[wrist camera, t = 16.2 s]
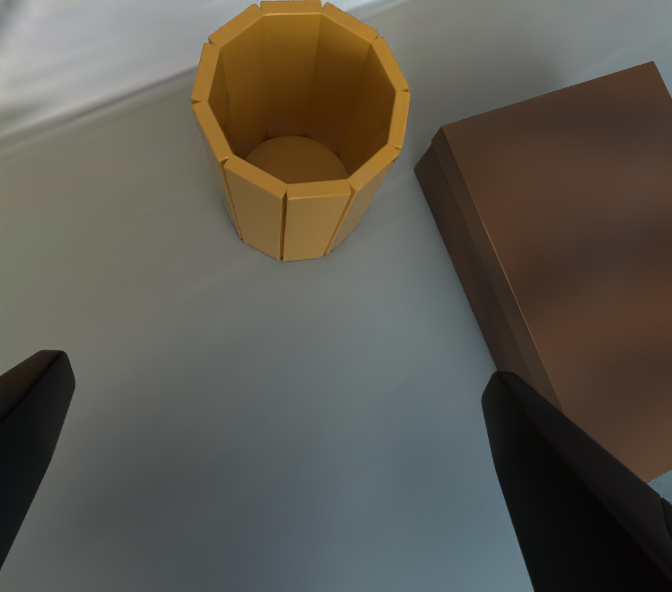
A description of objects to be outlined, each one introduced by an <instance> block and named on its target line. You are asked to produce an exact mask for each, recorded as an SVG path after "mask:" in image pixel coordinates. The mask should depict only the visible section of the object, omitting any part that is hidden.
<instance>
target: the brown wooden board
mask: <svg viewBox="0 0 672 592" xmlns="http://www.w3.org/2000/svg"><path fill="white" fill-rule="evenodd" d="M414 171H415V173H416V176H417V178H418V180H419V183H420V185H421V188H422V190H423V192H424V195H425V197H426V200H427V202H428V204H429V207H430V209H431V212H432V214H433V216H434V219H435V221H436V224H437V226H438V228H439V231H440V233H441V235H442V238H443V240H444V243H445V245H446V247H447V250H448V252H449V255H450V257H451V259H452V262H453V264H454V267H455V269H456V271H457V274H458V276H459V279H460V281H461V283H462V286H463V288H464V291H465V293H466V295H467V298H468V300H469V302H470V305H471V307H472V310H473V312H474V314H475V317H476V319H477V322H478V324H479V326H480V329H481V331H482V334H483V336H484V338H485V341H486V343H487V346H488V348H489V350H490V353H491V355H492V358H493V360H494V362H495V365H496V367H497V369H498V371H511V372H514V373H516V374H517V375H518V376H519V377H521V378H522V379H523V380H524V381H525V382H526V383H528V384H529V385H530V386H531V387H532V388H534V389H535V390H536V391H537V392H538V393H539V394H541V395H542V396H543V397H544V398H545V399H547V400H548V401H549V402H550V403H551V404H553V405H554V406H555V407H556V408H557V409H558V410H560V411H561V412H562V413H563V414H564V415H566V416H567V417H568V418H569V419H570V420H572V421H573V422H574V423H575V424H576V425H577V426H579V427H580V428H581V429H582V430H583V431H585V432H586V433H587V434H588V435H589V436H591V437H592V438H593V439H594V440H595V441H596V442H598V443H599V444H600V445H601V446H602V447H604V448H605V449H606V450H607V451H608V452H609V453H611V454H612V455H613V456H614V457H615V458H617V459H618V460H619V461H620V462H621V463H623V464H624V465H625V466H626V467H627V468H628V469H630V470H631V471H632V472H633V473H634V474H636V475H637V476H638V477H639V478H640V479H642V480H643V481H644V482H645V483H647V482H649V481H651V480H653V479H655V478H657V477H658V476H660V475H662V474H664V473H666V472H668V471H670V470H672V98H671V96H670V94H669V92H668V90H667V88H666V86H665V84H664V82H663V80H662V78H661V75H660V73H659V71H658V69H657V67H656V65H655V63H654V61H651V62H648V63H645V64H641V65H638V66H635V67H632V68H628V69H625V70H622V71H619V72H615V73H612V74H609V75H606V76H603V77H599V78H596V79H593V80H590V81H586V82H583V83H580V84H577V85H573V86H570V87H567V88H564V89H561V90H557V91H554V92H551V93H548V94H544V95H541V96H538V97H535V98H531V99H528V100H525V101H522V102H519V103H515V104H512V105H509V106H506V107H502V108H499V109H496V110H493V111H489V112H486V113H483V114H480V115H477V116H473V117H470V118H467V119H464V120H460V121H457V122H454V123H451V124H447V125H444V126H441V127H440V129H439V130H438V132H437V133H436V135H435V136H434V137H433V139H432V144H431V146H430V147H429V149H428V150H427V151H426V153H425V154H424V155H423V157H422V158H421V160H420V161H419V162H418V164H417V165H416V167H415V168H414Z"/></svg>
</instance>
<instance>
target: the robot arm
mask: <svg viewBox="0 0 672 592" xmlns="http://www.w3.org/2000/svg"><path fill="white" fill-rule="evenodd" d="M74 390H75V377H74V374H73V371H72V368H71V364H70V361H69V358H68V356H67V354H66V353H65V352H64V351H61V350H41V351H39V352H37V353H35V354H34V355H32V356H31V357H29V358H28V359H26V360H24V361H23V362H21V363H20V364H18V365H17V366H15V367H14V368H12V369H10V370H9V371H7V372H6V373H4V374H3V375H1V376H0V570H1V568H2V565H3V563H4V561H5V559H6V557H7V555H8V553H9V550H10V548H11V546H12V544H13V542H14V540H15V537H16V535H17V533H18V531H19V529H20V527H21V525H22V522H23V520H24V518H25V516H26V514H27V512H28V509H29V507H30V505H31V503H32V501H33V499H34V497H35V494H36V492H37V490H38V488H39V486H40V484H41V481H42V479H43V477H44V475H45V473H46V470H47V468H48V466H49V464H50V461H51V459H52V456H53V453H54V450H55V447H56V444H57V441H58V438H59V435H60V432H61V429H62V426H63V423H64V420H65V417H66V414H67V411H68V408H69V405H70V402H71V399H72V396H73V393H74ZM482 409H483V414H484V419H485V424H486V428H487V433H488V438H489V443H490V448H491V453H492V457H493V462H494V466H495V470H496V473H497V477H498V480H499V483H500V486H501V489H502V492H503V495H504V499H505V502H506V505H507V508H508V511H509V514H510V517H511V520H512V524H513V527H514V530H515V533H516V536H517V539H518V542H519V545H520V549H521V552H522V555H523V558H524V561H525V564H526V567H527V570H528V573H529V577H530V580H531V583H532V586H533V589H534V592H672V505H671V504H670V503H669V502H668V501H667V500H665V499H664V498H660V495H659V494H658V493H657V492H656V491H655V490H653V489H652V488H651V487H650V486H649V485H647V484H646V483H645V482H644V481H643V480H642V479H640V478H639V477H638V476H637V475H636V474H634V473H633V472H632V471H631V470H630V469H628V468H627V467H626V466H625V465H624V464H623V463H621V462H620V461H619V460H618V459H617V458H615V457H614V456H613V455H612V454H611V453H609V452H608V451H607V450H606V449H605V448H604V447H602V446H601V445H600V444H599V443H598V442H596V441H595V440H594V439H593V438H592V437H591V436H589V435H588V434H587V433H586V432H585V431H583V430H582V429H581V428H580V427H579V426H577V425H576V424H575V423H574V422H573V421H572V420H570V419H569V418H568V417H567V416H566V415H564V414H563V413H562V412H561V411H560V410H558V409H557V408H556V407H555V406H554V405H553V404H551V403H550V402H549V401H548V400H547V399H545V398H544V397H543V396H542V395H541V394H539V393H538V392H537V391H536V390H535V389H534V388H532V387H531V386H530V385H529V384H528V383H526V382H525V381H524V380H523V379H522V378H521V377H519V376H518V375H517V374H516V373H514V372H511V371H496V372H494V373H493V374H492V376H491V378H490V380H489V382H488V384H487V386H486V388H485V390H484V392H483V395H482Z"/></svg>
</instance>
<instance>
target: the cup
mask: <svg viewBox="0 0 672 592" xmlns="http://www.w3.org/2000/svg"><path fill="white" fill-rule="evenodd" d="M377 37H378V31H377V30H375V29H373V28H371V27H370V26H368V25H366V24H365V23H363V22H361V21H359V20H358V19H356V18H354V17H353V16H351V15H349V14H347V13H346V12H344V11H342V10H340V9H339V8H337V7H335V6H334V5H332V4H330V3H328V2H326V3H325V5H324V6H323V8H322V4H321V1H320V0H291V1H261V3H260V8H259V7H258V6H257V5H256V4H253V5H251V6H250V7H249V8H247V9H246V10H244V11H243V12H242V13H240V14H239V15H238V16H236V17H235V18H233V19H232V20H231V21H229V22H228V23H227V24H225V25H224V26H223V27H221V28H220V29H218V30H217V31H216V32H214V33H213V34H212V35H210V36H209V37H208V40H209V43H204V46H203V50H202V54H201V58H200V62H199V66H198V70H197V74H196V78H195V82H194V86H193V90H192V94H191V101H192V110H193V113H194V116H195V119H196V122H197V125H198V128H199V131H200V134H201V137H202V140H203V144H204V147H205V150H206V153H207V156H208V159H209V162H210V165H211V168H212V171H213V174H214V177H215V180H216V183H217V186H218V189H219V192H220V195H221V198H222V201H223V204H224V206H225V208H226V210H227V213H228V215H229V217H230V219H231V221H232V223H233V225H234V227H235V229H236V231H237V233H238V235H239V237H240V238H242V239H243V242H245V243H247V244H248V245H250V246H252V247H254V248H256V249H258V250H259V251H261V252H263V253H265V254H267V255H269V256H270V257H272V258H274V259H276V260H278V261H279V260H280V259H281V257H282V261H283V262H286V261H295V260H303V259H312V258H321V257H323V255H324V254H325V255H328V254H329V253H330V252H331V251H332V250H333V249H334V248H335V247H336V246H337V245H338V244H339V243H340V242H342V241H343V240H344V239H345V238H346V237H347V236H348V235H349V234H350V233H351V232H352V231H353V230H354V229H355V227H356V225H357V224H358V222H359V220H360V219H361V217H362V215H363V214H364V212H365V210H366V209H367V207H368V205H369V204H370V202H371V200H372V199H373V197H374V195H375V194H376V192H377V190H378V189H379V187H380V185H381V184H382V182H383V180H384V179H385V177H386V175H387V174H388V172H389V170H390V169H391V167H392V165H393V164H394V162H395V160H396V159H397V157H398V155H399V153H400V151H401V149H402V148H403V144H404V137H405V130H406V124H407V117H408V111H409V104H410V97H411V93H410V92H408V90H409V84H408V83H407V81H406V79H405V77H404V75H403V73H402V71H401V69H400V67H399V65H398V64H397V62H396V60H395V58H394V56H393V54H392V52H391V50H390V48H389V46H388V45H387V43H386V41H385V39H384V37H379V38H377Z"/></svg>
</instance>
